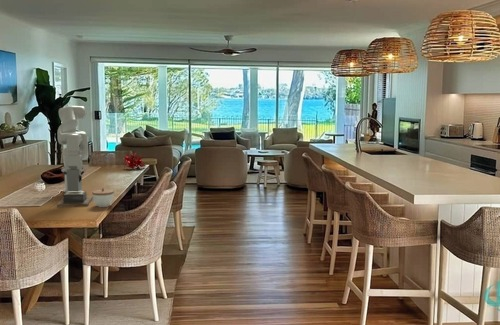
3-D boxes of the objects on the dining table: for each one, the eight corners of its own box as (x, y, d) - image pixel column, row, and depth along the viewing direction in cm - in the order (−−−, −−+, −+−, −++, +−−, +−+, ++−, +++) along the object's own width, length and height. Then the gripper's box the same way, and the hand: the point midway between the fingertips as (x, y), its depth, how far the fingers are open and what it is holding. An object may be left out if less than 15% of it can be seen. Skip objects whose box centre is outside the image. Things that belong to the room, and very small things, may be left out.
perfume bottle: (81, 189, 308) (80, 161, 306) (78, 191, 301) (77, 162, 299) (71, 189, 308) (70, 161, 305) (67, 191, 301) (66, 162, 299)
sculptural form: (150, 157, 464) (131, 149, 468) (141, 152, 440) (121, 145, 445) (143, 176, 462) (124, 168, 467) (132, 172, 438) (112, 164, 443)
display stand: (63, 200, 314) (63, 189, 313) (92, 199, 317) (91, 189, 316) (57, 206, 294) (56, 196, 293) (87, 205, 297) (87, 195, 297)
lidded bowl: (113, 207, 294) (112, 189, 292) (91, 208, 291) (91, 190, 290) (114, 203, 306) (114, 186, 304) (93, 203, 303) (93, 186, 302)
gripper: (88, 152, 307) (89, 180, 309) (60, 152, 304) (61, 181, 306) (86, 154, 299) (87, 182, 302) (57, 154, 296) (58, 183, 299)
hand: (74, 181), depth 304 cm, fingers closed on perfume bottle, 5 cm apart
